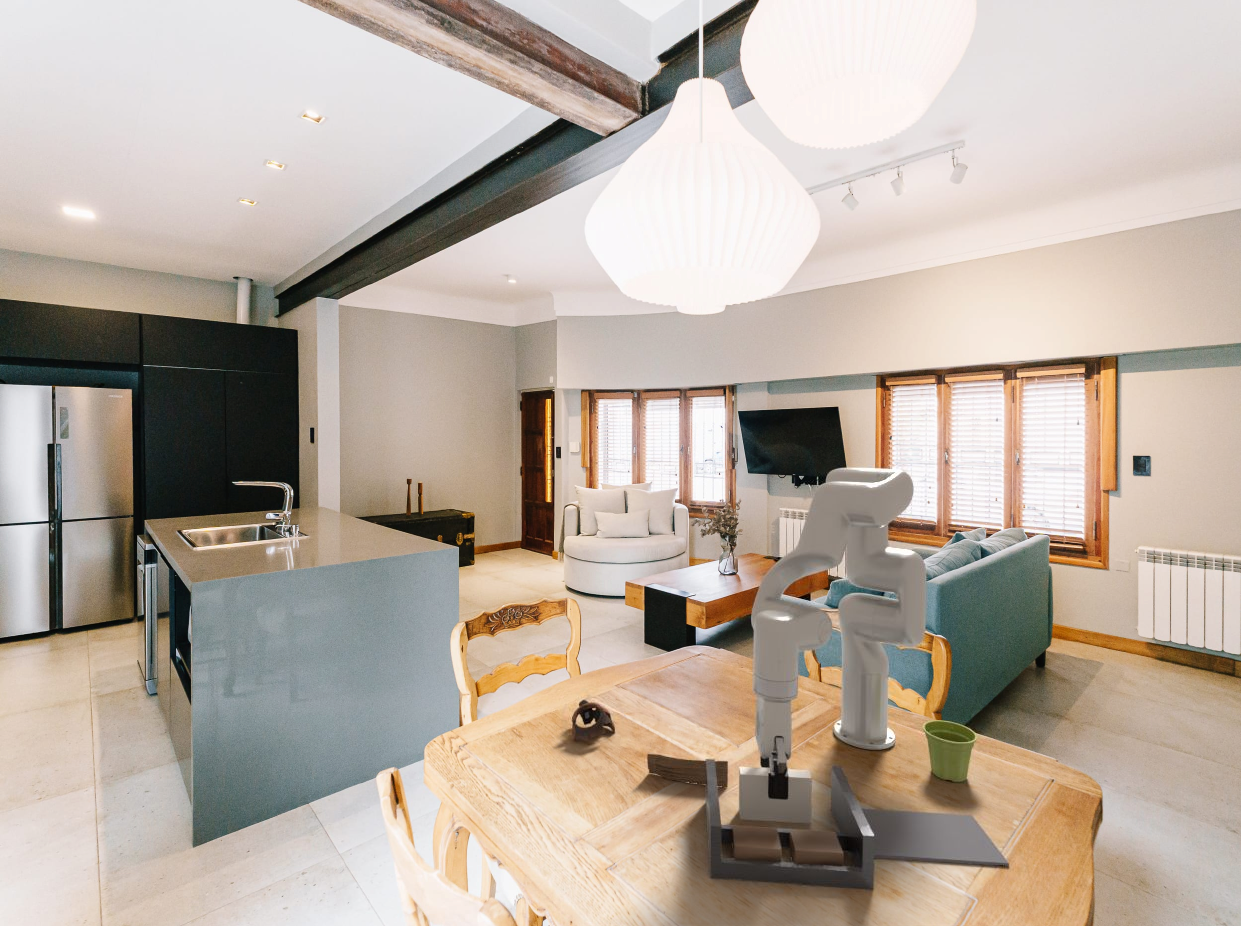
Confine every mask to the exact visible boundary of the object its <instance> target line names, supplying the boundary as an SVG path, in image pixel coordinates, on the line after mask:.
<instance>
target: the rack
mask: <svg viewBox="0 0 1241 926" xmlns="http://www.w3.org/2000/svg"><path fill="white" fill-rule="evenodd" d="M705 761H706V785H705V813H706V817H705V818H706V827H707V829H706V830H707V831H706V832H707V844H708V858H709V861H708V862H709V876H710V877H709V878H711V879H721V880H722V879H723V880H736V881H749V882H750V881H751V882H762V883H763V882H765V883H776V884H778V883H779V884H789V885H790V884H794V885H806V886H807V885H808V886H819V887H820V886H822V887H833V888H848V889H861V890H862V889H865V890H875V889H874V888H875V887H874V884H875V883H874V882H875V881H874V879H875V877H874V876H875V875H874V874H875V858H874V834H873V832H872V830H871V828H870V826H869V824H868V822H867V820H866V818H865V816H864V814H863V812H862V809H863V808H861V806H860V804H859V801H858V798H857V797H856V795H855V793H854V791H853V789H852V787H851V785H850V782H849V781H848V778H847V776H846V775H845V773H844V770H843V768H842V766H841V765H830V812H831V814H832V816H833V819H834V822H835V824H836V827H837V829H838V831H831V830H830V831H831V832H835V833H836V836H837V838H838V841H839V843H840V846H841V848H842V851H843V852H847V854H848V857H849V860H850V861H851V864H852V866H847V865H846V866H845V865H843V866H834V865H820V864H805V863H792V862H788V861H781V862H775V861H761V860H746V859H733V858H730V857H729V858H727V857H722V844H724V845H725V844H727V845H733V825H734V824H722V819H721V809H720V800H719V799H720V798H719V790H718V789H719V787H717V777H716V768H715V761H716V760H715V759H714V758H713V759H711V758H706V759H705ZM752 827H754V826H753V825H752ZM765 828H770V827H768V826H767V827H766V826H765ZM776 828H777V830H778V835H779V840H780V845H781V848H788V849H789V843H790V829H791V828H783V827H782V828H781V827H776ZM796 829H797V830H802V829H800V828H796ZM813 830H814V829H813ZM814 831H819V830H816V829H815V830H814Z"/></svg>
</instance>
